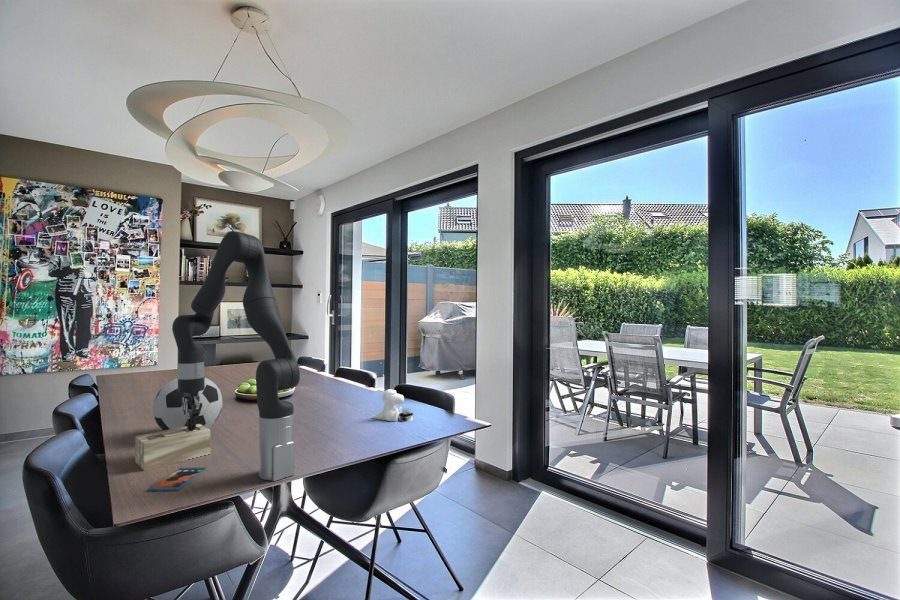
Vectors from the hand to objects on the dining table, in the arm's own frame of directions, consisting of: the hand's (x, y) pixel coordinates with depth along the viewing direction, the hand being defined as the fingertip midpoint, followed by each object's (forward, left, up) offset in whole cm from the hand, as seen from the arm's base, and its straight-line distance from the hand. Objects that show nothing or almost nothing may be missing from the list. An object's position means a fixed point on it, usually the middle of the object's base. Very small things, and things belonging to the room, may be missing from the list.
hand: (191, 429), depth 141 cm
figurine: (-17, -70, -8) cm, 73 cm away
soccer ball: (+22, -6, -8) cm, 24 cm away
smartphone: (-19, +9, -9) cm, 23 cm away
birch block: (0, +5, -8) cm, 9 cm away
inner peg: (0, 0, -7) cm, 7 cm away
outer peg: (0, +10, -7) cm, 12 cm away
